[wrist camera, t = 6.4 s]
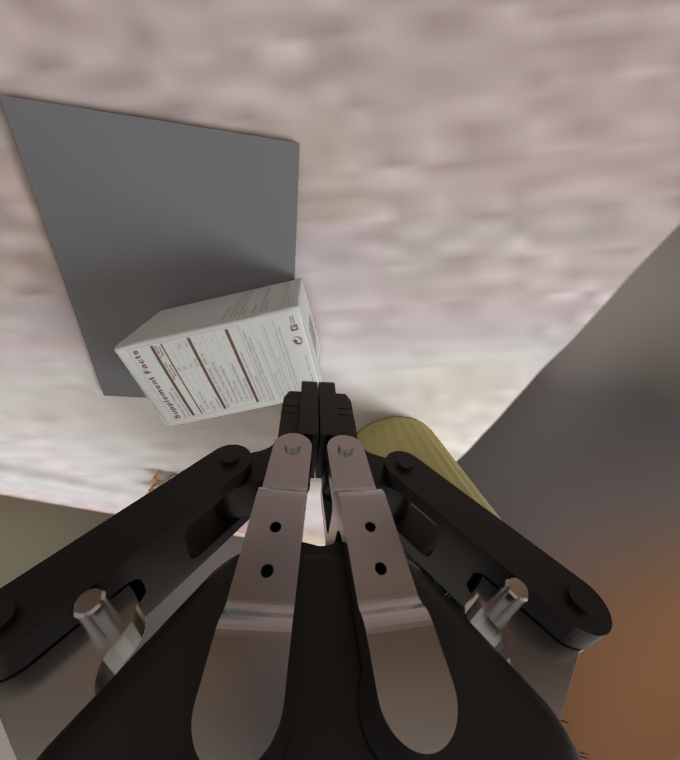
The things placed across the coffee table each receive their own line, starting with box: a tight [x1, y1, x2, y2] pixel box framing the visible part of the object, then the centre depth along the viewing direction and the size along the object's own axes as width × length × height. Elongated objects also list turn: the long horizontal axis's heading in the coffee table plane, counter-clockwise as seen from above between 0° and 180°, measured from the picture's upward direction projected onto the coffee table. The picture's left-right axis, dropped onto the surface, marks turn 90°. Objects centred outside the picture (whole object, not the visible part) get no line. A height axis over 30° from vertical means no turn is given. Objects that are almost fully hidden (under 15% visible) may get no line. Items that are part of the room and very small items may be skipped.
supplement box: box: [114, 278, 322, 427], centre depth 24 cm, size 7×7×13 cm
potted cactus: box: [357, 417, 585, 758], centre depth 24 cm, size 15×15×30 cm
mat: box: [0, 95, 299, 404], centre depth 25 cm, size 22×18×1 cm
